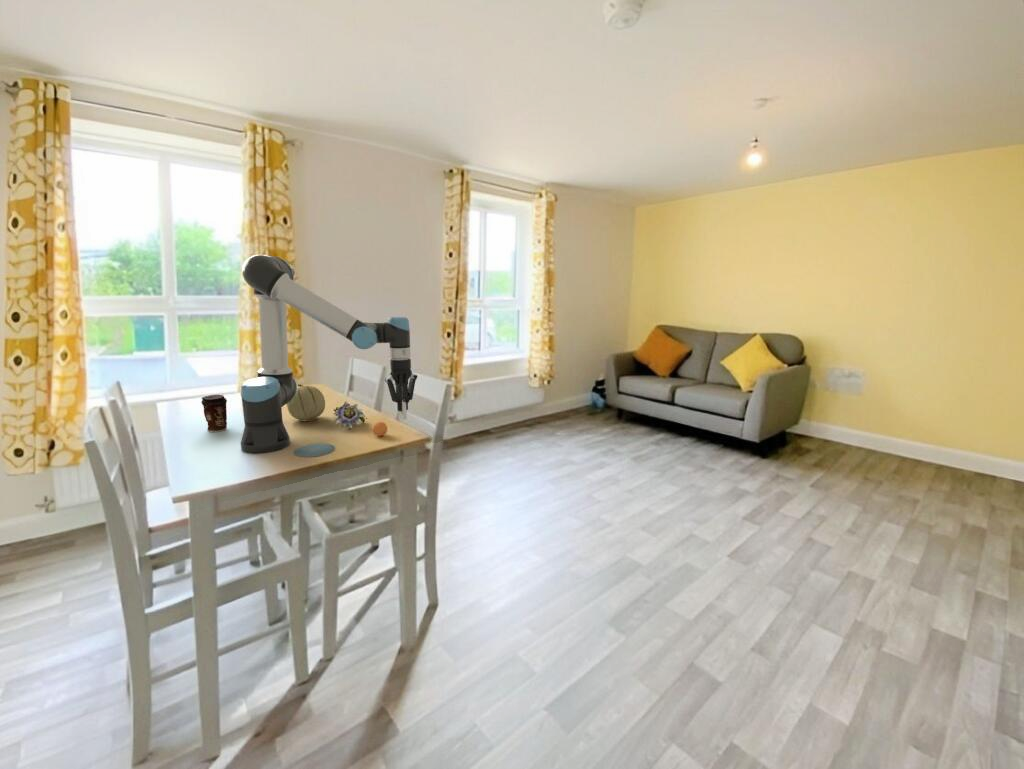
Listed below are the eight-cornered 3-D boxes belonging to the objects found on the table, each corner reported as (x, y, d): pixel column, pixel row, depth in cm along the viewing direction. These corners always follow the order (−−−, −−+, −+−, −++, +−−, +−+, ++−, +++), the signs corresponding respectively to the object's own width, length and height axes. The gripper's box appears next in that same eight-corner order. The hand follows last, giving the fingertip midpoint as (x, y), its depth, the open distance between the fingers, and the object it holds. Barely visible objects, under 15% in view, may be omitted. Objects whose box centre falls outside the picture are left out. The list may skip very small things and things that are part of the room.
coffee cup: (199, 430, 179) (195, 397, 176) (221, 424, 186) (217, 393, 183) (212, 434, 175) (208, 400, 172) (234, 428, 182) (231, 395, 179)
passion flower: (351, 441, 186) (334, 422, 178) (340, 430, 194) (323, 411, 186) (374, 423, 190) (358, 403, 182) (363, 412, 197) (347, 392, 189)
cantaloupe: (317, 425, 187) (314, 389, 184) (281, 424, 188) (277, 388, 184) (332, 415, 202) (330, 381, 199) (298, 414, 202) (295, 380, 199)
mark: (295, 459, 152) (295, 458, 152) (292, 447, 163) (292, 446, 163) (337, 453, 158) (337, 452, 158) (332, 441, 169) (332, 441, 169)
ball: (374, 439, 173) (373, 424, 172) (371, 434, 178) (370, 420, 177) (389, 437, 176) (388, 423, 175) (385, 432, 180) (385, 419, 179)
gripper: (389, 361, 170) (392, 424, 175) (420, 357, 178) (423, 417, 184) (379, 359, 175) (383, 419, 180) (410, 355, 184) (413, 413, 189)
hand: (403, 418), depth 182 cm, fingers closed
